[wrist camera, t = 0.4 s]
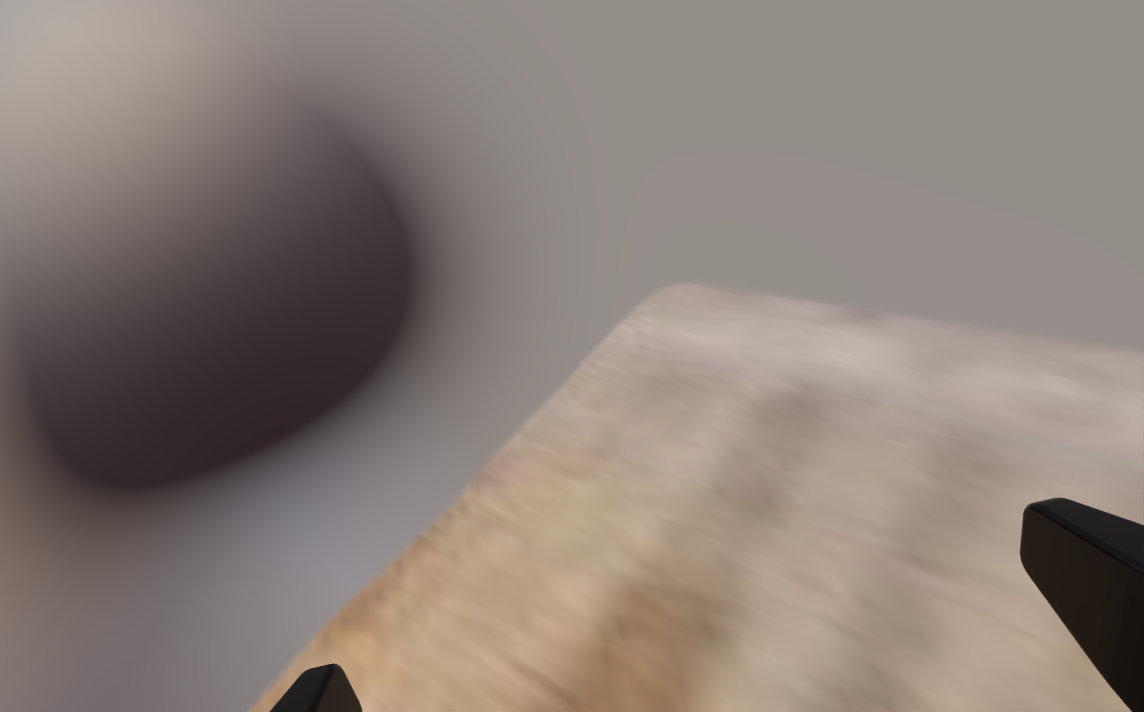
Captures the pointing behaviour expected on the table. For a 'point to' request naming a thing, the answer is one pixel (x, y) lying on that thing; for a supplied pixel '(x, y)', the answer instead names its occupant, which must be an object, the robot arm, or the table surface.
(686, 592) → the table surface
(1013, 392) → the table surface
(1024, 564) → the robot arm
